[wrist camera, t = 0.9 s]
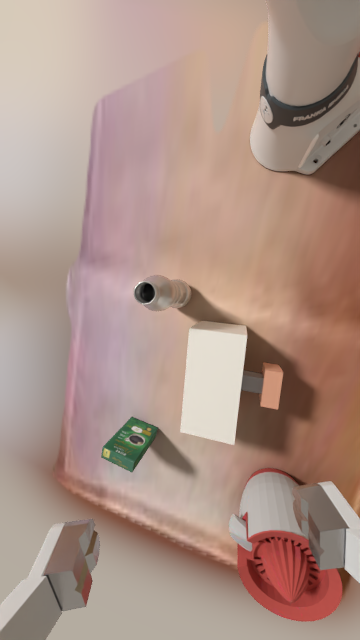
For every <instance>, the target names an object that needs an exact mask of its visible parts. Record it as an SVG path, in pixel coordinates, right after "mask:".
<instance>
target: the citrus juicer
mask: <svg viewBox="0 0 360 640" xmlns="http://www.w3.org/2000/svg"><path fill="white" fill-rule="evenodd" d="M296 486H300V485H299V484H298V483H297V482H296V481H295V480H294V479H293V478H292V477H291V476H289V475H288V474H287V473H285V472H283V471H281V470H277V469H272V468H265V469H261V470H258V471H256V472H255V473H254V474H252V476H251V477H250V478H249V480H248V481H247V483H246V485H245V488H244V492H243V495H242V499H241V504H240V514H239V517H238V516H236V515H235V514H232V516H231V518H230V521H229V532H230V536H231V537H232V539H233V540H234V541H236V542H237V543H238V571H239V575H240V578H241V580H242V582H243V584H244V586H245V587H246V589H247V590H248V592H249V593H250V594H251V596H252V597H253V598H254V599H255V600H256V601H257V602H258V603H260V604H261V605H262V606H263V607H265V608H266V609H268V610H270V611H271V612H273V613H275V614H277V615H279V616H281V617H284V618H287V619H291V620H296V621H315V620H319V619H322V618H325V617H326V616H328V615H330V614H331V613H332V612H333V611H335V610H336V608H337V607H338V605H339V603H340V601H341V597H342V581H341V577H340V574H339V572H338V569H337V568H335V569H326V570H320V569H319V567H318V565H317V563H316V561H315V559H314V557H313V555H312V553H311V550H310V548H309V538H307V537H306V536H305V535H304V534H303V533H302V532H301V530H300V528H299V526H298V523H297V521H296V518H295V515H294V511H293V502H294V500H295V498H294V496H293V495H292V488H293V487H296Z"/></svg>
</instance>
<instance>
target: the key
mask: <svg viewBox="0 0 360 640" xmlns="http://www.w3.org/2000/svg"><path fill="white" fill-rule="evenodd" d="M282 378H283V371H282V370H281V368H280V366H279V365H278V364H271V363H264V362H263V367H262V373H257V372H250V371H244V370H243V376H242V384H241V390H243V391H249V392H254V393H259V399H260V405H261V406H262V407H267V408H272V409H277V410H278V406H279V399H280V392H281V385H282Z"/></svg>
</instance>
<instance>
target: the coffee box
mask: <svg viewBox="0 0 360 640" xmlns="http://www.w3.org/2000/svg"><path fill="white" fill-rule="evenodd" d="M157 430H158V428H157V427H155V426H153V425H150V424H147V423H145V422H143V421H140V420H138V419H135V418H133V417H131V418H130V419H129V420H128V421H127V423H126V424H125V425H124V426H123V427H122V428H121V429H120V430H119V431H118V432H117V433H116V434H115V435H114V436H113V437H112V438H111V439H110V440H109V441H108V442H107V443H106V444H105V445H104V446H103V449H102V456H101V457H102V458H104V459H106V460H108V461H110V462H112V463H114V464H116V465H118V466H120V467H122V468H124V469H126V470H128V471H130V472H133V470H134V469H135V467H136V466H137V464H138V463H139V461H140V460H141V458H142V457H143V455H144V454H145V452H146V451H147V449H148V448H149V446H150V445H151V443H152V442H153V440H154V439H155V437H156V434H157Z"/></svg>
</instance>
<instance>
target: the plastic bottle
mask: <svg viewBox="0 0 360 640" xmlns="http://www.w3.org/2000/svg"><path fill="white" fill-rule="evenodd" d="M134 297H135V299H136V300H137V301H138V302H139V303H140V304H143V305H144V306H145V307H146V308H148V309H150V310H152V311H163V310H165V309H167V308H169V307H172V308H181V307H183V306H185V305H186V304H187V303H188V302H189V301H190V299H191V289H190V287H189V286H188V284H187V283H185V282H184V281H182V280H178V279H176V280H169V279H168V278H166V277H164V276H161V275H153V276H150V277H148V278H146V279H145V280H144V281H143V282H140V283H138V284H137V285H136V287H135V289H134Z"/></svg>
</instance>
